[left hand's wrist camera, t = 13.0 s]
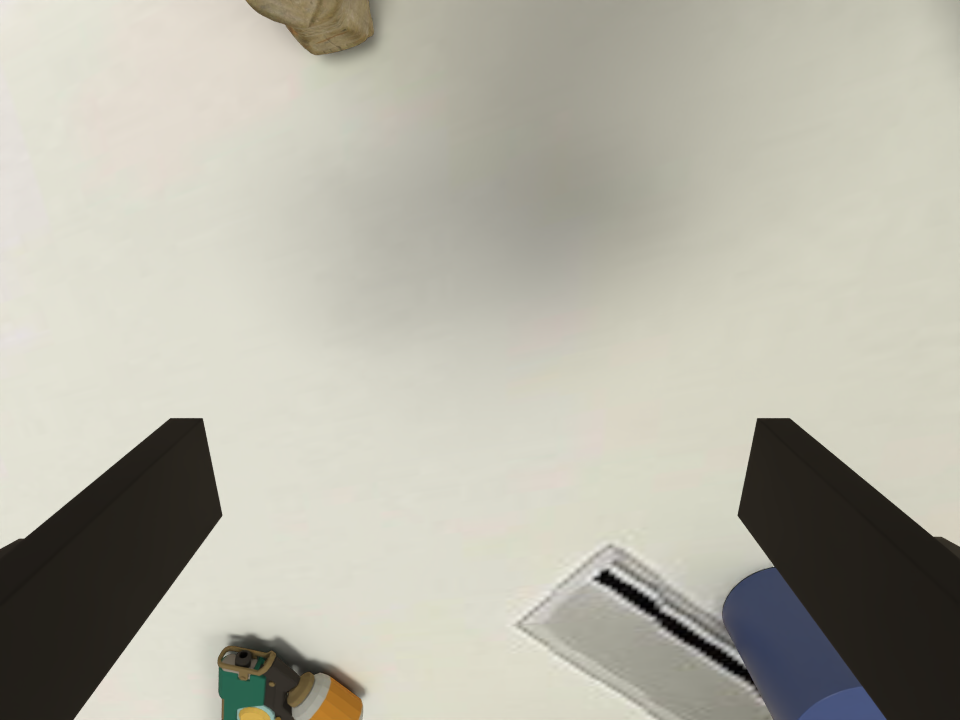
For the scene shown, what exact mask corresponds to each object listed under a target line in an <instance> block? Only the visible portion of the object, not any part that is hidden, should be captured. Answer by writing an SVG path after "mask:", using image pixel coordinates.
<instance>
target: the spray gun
mask: <svg viewBox="0 0 960 720" xmlns="http://www.w3.org/2000/svg"><path fill="white" fill-rule="evenodd" d="M228 651H235V652H238V654H237V655H235V654H230V655H227V656H225V657H224V658H223V656H224V655H225V654H226V652H228ZM257 656H259V657H260V658H259V659H258V660H257ZM263 657H264V658H268V659H267V660H266V661H265V660H264V658H263ZM218 666H219V689H218V692H219V695H220V697H221V698H222V720H362V717H363V704H362V700H361V699H360V698H359V697H357V696H356V695H355V694H353V693H352V692H350V691H349V690H348V689H346V688H345V687H344V686H342V685H341V684H340V683H338V682H337V681H336V680H334V679H333V678H332V677H330V676H328V675H326V674H323V673H318V674H315V675H313V674H312V673H310V672H306V673H304V674H303V675H301V676H300V677H299V676H298V674H297V673H296V672H294V671H293V670H292V669H291V668H290V667H289V666H288V665H287V664H285V663H284V662H283V661H282V660H281V659H280V658H279V657H277V656H276V653H275V652H273V651H269V652H268V653H265V652H260V651H256V650H251V649H246V648H241V647H237V646H227V647H225V648H224V649H223V650H222V652H221V653H220V655H219V657H218ZM288 691H289V694H288V697H287V692H288Z"/></svg>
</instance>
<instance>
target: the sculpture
mask: <svg viewBox="0 0 960 720" xmlns="http://www.w3.org/2000/svg"><path fill="white" fill-rule="evenodd" d="M246 1H247V3H248V4H249V5H250V6H251V7H252V8H253V9H254V10H255V11H257V12H258V13H259V14H261V15H263V16H265V17H267V18H269V19H271V20H273V21H276V22H279V23H282V24H285V25H286V27H287V28H288V29H289V31H290V32H291V33H292V35H293V36H294V37H295V38H296V39H297V41H298V42H299V43H300V44H301V45H302V46H303V47H304V48H305V49H307V50H308V51H309V52H310V53H312V54H314V55H322V54H329V53H333V52H338V51H341V50H345V49H349V48H351V47H354V46H357V45H359V44H361V43H362V42H364V41H365V40H366V39H367V38H368V37H371V36H372V35H373V33H374V29H373V22H372V18H371V14H370V9H369V0H246Z"/></svg>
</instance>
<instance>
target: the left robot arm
mask: <svg viewBox="0 0 960 720" xmlns="http://www.w3.org/2000/svg"><path fill="white" fill-rule="evenodd" d="M221 517H222V511H221V506H220V501H219V496H218V491H217V486H216V481H215V476H214V472H213V467H212V462H211V457H210V452H209V447H208V442H207V437H206V432H205V427H204V422H203V418H170V419H169V420H168V421H166V422H165V423H164V424H163V425H162V426H160V427H159V428H158V429H157V430H156V431H154V432H153V433H152V434H151V435H149V436H148V437H147V438H146V439H145V440H143V441H142V442H141V443H140V444H139V445H137V446H136V447H135V448H134V449H133V450H131V451H130V452H129V453H128V454H126V455H125V456H124V457H123V458H122V459H120V460H119V461H118V462H117V463H116V464H114V465H113V466H112V467H111V468H109V469H108V470H107V471H106V472H105V473H103V474H102V475H101V476H100V477H99V478H97V479H96V480H95V481H94V482H93V483H91V484H90V485H89V486H88V487H86V488H85V489H84V490H83V491H82V492H80V493H79V494H78V495H77V496H76V497H74V498H73V499H72V500H71V501H69V502H68V503H67V504H66V505H65V506H63V507H62V508H61V509H60V510H59V511H57V512H56V513H55V514H54V515H53V516H51V517H50V518H49V519H48V520H46V521H45V522H44V523H43V524H42V525H40V526H39V527H38V528H37V529H36V530H34V531H33V532H32V533H31V534H29V535H28V536H27V537H26V538H25V539H18V540H16V541H14V542H12V543H11V544H9V545H7V546H5V547H3V548H1V549H0V720H74V718H75V717H76V715H77V714H78V713H79V711H80V710H81V709H82V707H83V706H84V704H85V703H86V702H87V700H88V699H89V698H90V696H91V695H92V694H93V692H94V691H95V689H96V688H97V687H98V685H99V684H100V683H101V681H102V680H103V678H104V677H105V676H106V674H107V673H108V672H109V670H110V669H111V667H112V666H113V665H114V663H115V662H116V661H117V659H118V658H119V657H120V655H121V654H122V652H123V651H124V650H125V648H126V647H127V646H128V644H129V643H130V641H131V640H132V639H133V637H134V636H135V635H136V633H137V632H138V631H139V629H140V628H141V626H142V625H143V624H144V622H145V621H146V620H147V618H148V617H149V615H150V614H151V613H152V611H153V610H154V609H155V607H156V606H157V604H158V603H159V602H160V600H161V599H162V598H163V596H164V595H165V594H166V592H167V591H168V589H169V588H170V587H171V585H172V584H173V583H174V581H175V580H176V578H177V577H178V576H179V574H180V573H181V572H182V570H183V569H184V568H185V566H186V565H187V563H188V562H189V561H190V559H191V558H192V557H193V555H194V554H195V552H196V551H197V550H198V548H199V547H200V546H201V544H202V543H203V541H204V540H205V539H206V537H207V536H208V535H209V533H210V532H211V531H212V529H213V528H214V526H215V525H216V524H217V522H218V521H219V520H220V518H221ZM738 517H739V518H740V520H741V521H742V522H743V524H744V525H745V526H746V528H747V529H748V531H749V532H750V533H751V535H752V536H753V537H754V539H755V540H756V541H757V543H758V544H759V546H760V547H761V548H762V550H763V551H764V552H765V554H766V555H767V557H768V558H769V559H770V561H771V562H772V563H773V565H774V566H775V568H776V569H777V570H778V572H779V573H780V574H781V576H782V577H783V578H784V580H785V581H786V583H787V584H788V585H789V587H790V588H791V589H792V591H793V592H794V594H795V595H796V596H797V598H798V599H799V600H800V602H801V603H802V604H803V606H804V607H805V609H806V610H807V611H808V613H809V614H810V615H811V617H812V618H813V620H814V621H815V622H816V624H817V625H818V626H819V628H820V629H821V631H822V632H823V633H824V635H825V636H826V637H827V639H828V640H829V641H830V643H831V644H832V646H833V647H834V648H835V650H836V651H837V652H838V654H839V655H840V657H841V658H842V659H843V661H844V662H845V663H846V665H847V666H848V667H849V669H850V670H851V672H852V673H853V674H854V676H855V677H856V678H857V680H858V681H859V683H860V684H861V685H862V687H863V688H864V689H865V691H866V692H867V694H868V695H869V696H870V698H871V699H872V700H873V702H874V703H875V704H876V706H877V707H878V709H879V710H880V711H881V713H882V714H883V715H884V717H885V718H886V720H960V547H959V546H957V545H955V544H954V543H952V542H950V541H948V540H946V539H944V538H943V537H933V536H932V535H931V534H929V533H928V532H927V531H926V530H924V529H923V528H922V527H921V526H920V525H918V524H917V523H916V522H915V521H914V520H912V519H911V518H910V517H909V516H907V515H906V514H905V513H904V512H903V511H901V510H900V509H899V508H898V507H897V506H895V505H894V504H893V503H892V502H891V501H889V500H888V499H887V498H886V497H884V496H883V495H882V494H881V493H880V492H878V491H877V490H876V489H875V488H874V487H872V486H871V485H870V484H869V483H867V482H866V481H865V480H864V479H863V478H861V477H860V476H859V475H858V474H857V473H855V472H854V471H853V470H852V469H851V468H849V467H848V466H847V465H846V464H844V463H843V462H842V461H841V460H840V459H838V458H837V457H836V456H835V455H834V454H832V453H831V452H830V451H829V450H827V449H826V448H825V447H824V446H823V445H821V444H820V443H819V442H818V441H817V440H815V439H814V438H813V437H812V436H811V435H809V434H808V433H807V432H806V431H804V430H803V429H802V428H801V427H800V426H798V425H797V424H796V423H795V422H794V421H792V420H791V419H790V418H757V422H756V427H755V432H754V437H753V442H752V447H751V452H750V457H749V462H748V467H747V472H746V476H745V481H744V486H743V491H742V496H741V501H740V506H739V511H738Z"/></svg>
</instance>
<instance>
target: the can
mask: <svg viewBox="0 0 960 720" xmlns="http://www.w3.org/2000/svg"><path fill="white" fill-rule="evenodd" d="M723 621H724V625H725V627H726V629H727V631H728V633H729V635H730V637H731V639H732V641H733V643H734V644H735V646H736V648H737V650H738V652H739V654H740V656H741V658H742V660H743V662H744V664H745V666H746V668H747V669H748V671H749V673H750V675H751V677H752V679H753V681H754V683H755V685H756V687H757V689H758V691H759V693H760V695H761V696H762V698H763V700H764V702H765V704H766V706H767V708H768V710H769V712H770V714H771V716H772V718H773V720H886V718H885V717H884V715H883V714H882V713H881V711H880V710H879V709H878V707H877V706H876V704H875V703H874V702H873V700H872V699H871V698H870V696H869V695H868V694H867V692H866V691H865V689H864V688H863V687H862V685H861V684H860V683H859V681H858V680H857V678H856V677H855V676H854V674H853V673H852V672H851V670H850V669H849V667H848V666H847V665H846V663H845V662H844V661H843V659H842V658H841V657H840V655H839V654H838V652H837V651H836V650H835V648H834V647H833V646H832V644H831V643H830V641H829V640H828V639H827V637H826V636H825V635H824V633H823V632H822V631H821V629H820V628H819V626H818V625H817V624H816V622H815V621H814V620H813V618H812V617H811V615H810V614H809V613H808V611H807V610H806V609H805V607H804V606H803V604H802V603H801V602H800V600H799V599H798V598H797V596H796V595H795V594H794V592H793V591H792V589H791V588H790V587H789V585H788V584H787V583H786V581H785V580H784V578H783V577H782V576H781V574H780V573H779V572H778V570H777V569H776V568H775V567H774V568H769V569H765V570H762V571H759V572H757V573H755V574H753V575H751V576H749V577H747V578H746V579H744V580H743V581H741V582H740V583H739V584H738V585H737V586H736V587H735V588H734V589H733V590H732V591H731V593H730V594H729V596H728V597H727V599H726V601H725V604H724V607H723Z"/></svg>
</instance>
